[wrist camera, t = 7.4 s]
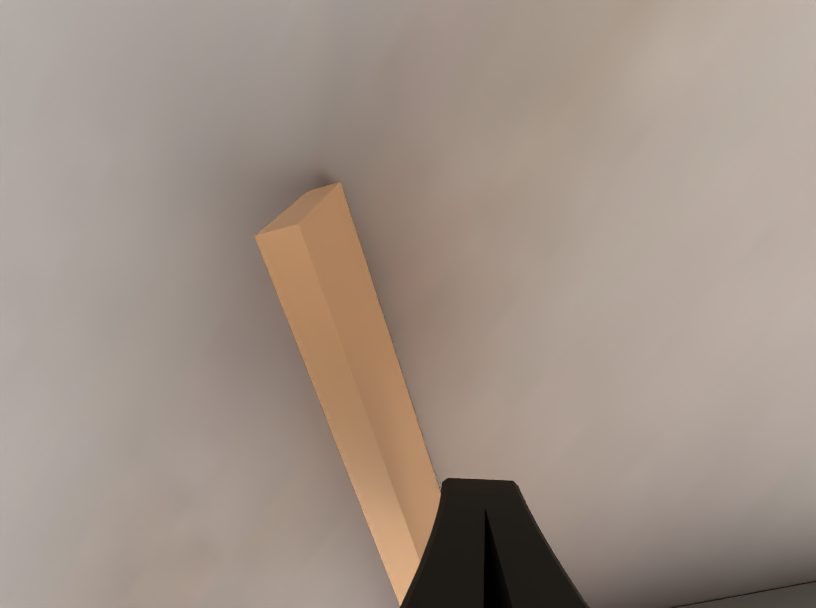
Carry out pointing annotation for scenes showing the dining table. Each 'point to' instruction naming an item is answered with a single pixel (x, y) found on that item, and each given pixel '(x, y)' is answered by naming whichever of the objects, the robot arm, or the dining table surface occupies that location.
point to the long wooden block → (354, 372)
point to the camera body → (768, 599)
